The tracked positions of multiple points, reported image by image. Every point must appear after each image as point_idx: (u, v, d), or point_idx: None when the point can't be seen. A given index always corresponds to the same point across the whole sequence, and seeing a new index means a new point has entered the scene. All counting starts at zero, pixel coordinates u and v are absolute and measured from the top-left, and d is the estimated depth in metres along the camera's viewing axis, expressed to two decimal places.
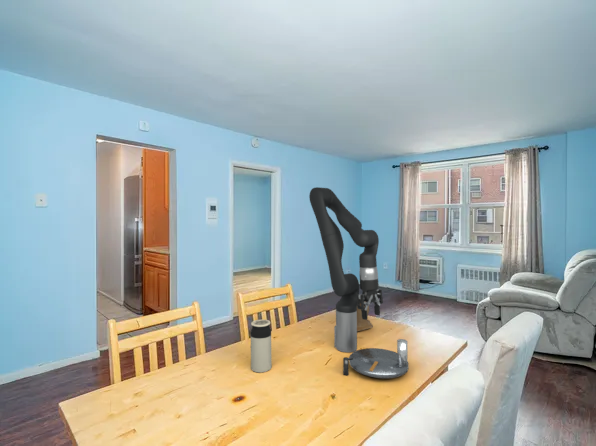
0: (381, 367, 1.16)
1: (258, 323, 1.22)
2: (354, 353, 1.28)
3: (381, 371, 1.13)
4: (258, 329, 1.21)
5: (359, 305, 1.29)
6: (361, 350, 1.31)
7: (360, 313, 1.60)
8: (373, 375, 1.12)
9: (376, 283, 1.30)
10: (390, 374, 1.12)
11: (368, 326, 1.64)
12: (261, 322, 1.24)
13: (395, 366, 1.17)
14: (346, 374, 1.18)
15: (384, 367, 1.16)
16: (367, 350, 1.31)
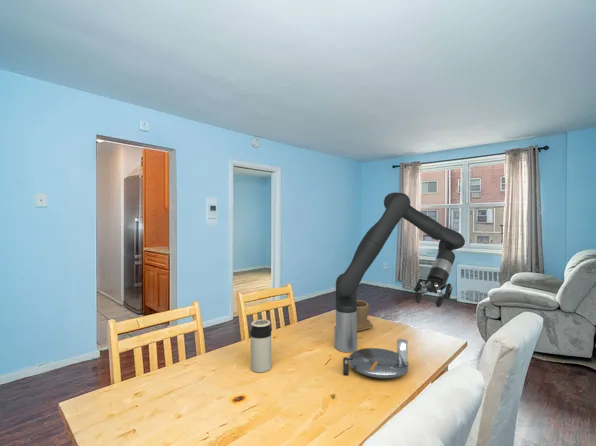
0: (381, 367, 1.16)
1: (258, 323, 1.22)
2: (354, 353, 1.28)
3: (381, 371, 1.13)
4: (258, 329, 1.21)
5: None
6: (361, 350, 1.31)
7: (360, 313, 1.60)
8: (373, 375, 1.12)
9: None
10: (390, 374, 1.12)
11: (368, 326, 1.64)
12: (261, 322, 1.24)
13: (395, 366, 1.17)
14: (346, 374, 1.18)
15: (384, 367, 1.16)
16: (367, 350, 1.31)
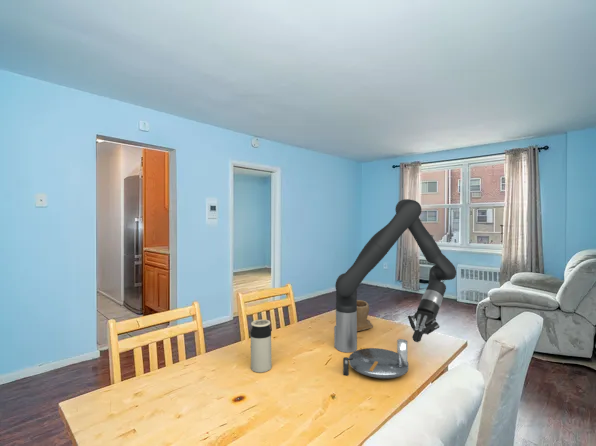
0: (381, 367, 1.16)
1: (258, 323, 1.22)
2: (354, 353, 1.28)
3: (381, 371, 1.13)
4: (258, 329, 1.21)
5: None
6: (361, 350, 1.31)
7: (360, 313, 1.60)
8: (373, 375, 1.12)
9: None
10: (390, 374, 1.12)
11: (368, 326, 1.64)
12: (261, 322, 1.24)
13: (395, 366, 1.17)
14: (346, 374, 1.18)
15: (384, 367, 1.16)
16: (367, 350, 1.31)
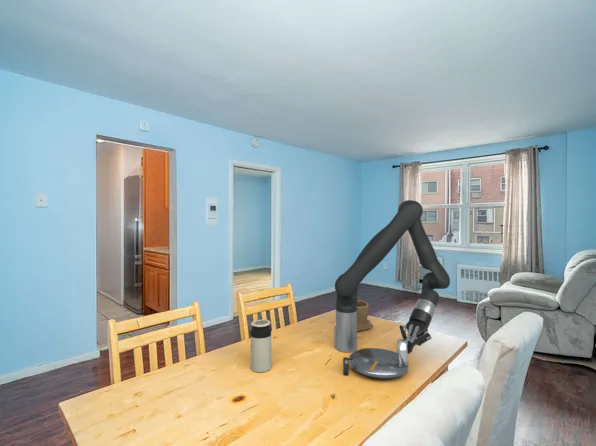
0: (381, 367, 1.16)
1: (258, 323, 1.22)
2: (354, 353, 1.28)
3: (381, 371, 1.13)
4: (258, 329, 1.21)
5: None
6: (361, 350, 1.31)
7: (360, 313, 1.60)
8: (373, 375, 1.12)
9: None
10: (390, 374, 1.12)
11: (368, 326, 1.64)
12: (261, 322, 1.24)
13: (395, 366, 1.17)
14: (346, 374, 1.18)
15: (384, 367, 1.16)
16: (367, 350, 1.31)
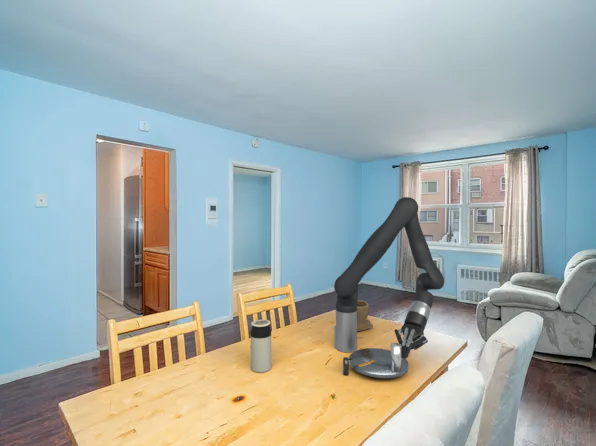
0: (371, 366, 1.17)
1: (258, 323, 1.22)
2: (363, 350, 1.32)
3: (366, 369, 1.15)
4: (258, 329, 1.21)
5: None
6: (373, 348, 1.33)
7: (360, 313, 1.60)
8: (358, 370, 1.16)
9: None
10: (373, 373, 1.12)
11: (368, 326, 1.64)
12: (261, 322, 1.24)
13: (386, 369, 1.15)
14: (346, 374, 1.18)
15: (375, 366, 1.17)
16: (379, 350, 1.31)
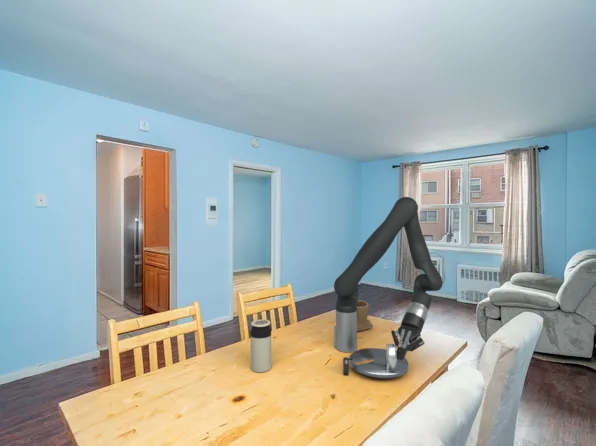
0: (368, 365, 1.18)
1: (258, 323, 1.22)
2: (368, 349, 1.32)
3: (361, 367, 1.17)
4: (258, 329, 1.21)
5: None
6: (379, 349, 1.32)
7: (360, 313, 1.60)
8: (354, 367, 1.18)
9: None
10: (366, 371, 1.14)
11: (368, 326, 1.64)
12: (261, 322, 1.24)
13: (381, 369, 1.15)
14: (346, 374, 1.18)
15: (371, 366, 1.17)
16: (384, 351, 1.30)
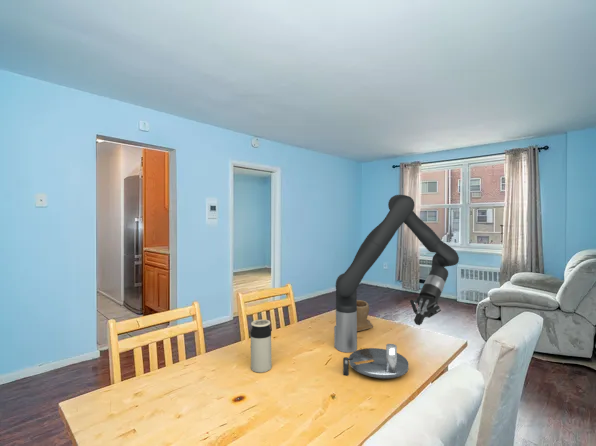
0: (368, 365, 1.18)
1: (258, 323, 1.22)
2: (368, 349, 1.32)
3: (361, 367, 1.17)
4: (258, 329, 1.21)
5: None
6: (379, 349, 1.32)
7: (360, 313, 1.60)
8: (353, 367, 1.18)
9: None
10: (366, 371, 1.14)
11: (368, 326, 1.64)
12: (261, 322, 1.24)
13: (381, 369, 1.15)
14: (346, 374, 1.18)
15: (371, 366, 1.17)
16: (384, 351, 1.30)
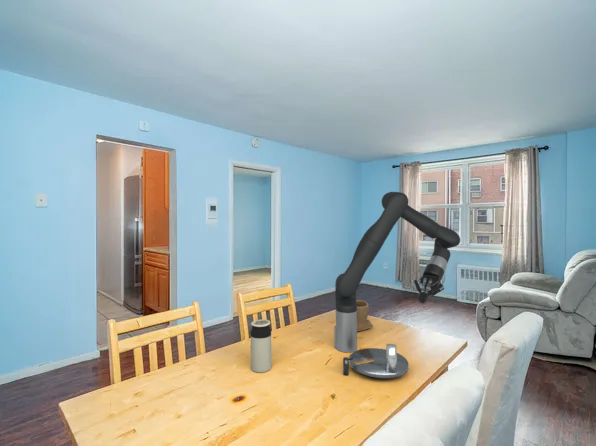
0: (368, 365, 1.18)
1: (258, 323, 1.22)
2: (368, 349, 1.32)
3: (361, 367, 1.17)
4: (258, 329, 1.21)
5: None
6: (379, 349, 1.32)
7: (360, 313, 1.60)
8: (353, 367, 1.18)
9: None
10: (366, 371, 1.14)
11: (368, 326, 1.64)
12: (261, 322, 1.24)
13: (381, 369, 1.15)
14: (346, 374, 1.18)
15: (371, 366, 1.17)
16: (384, 351, 1.30)
